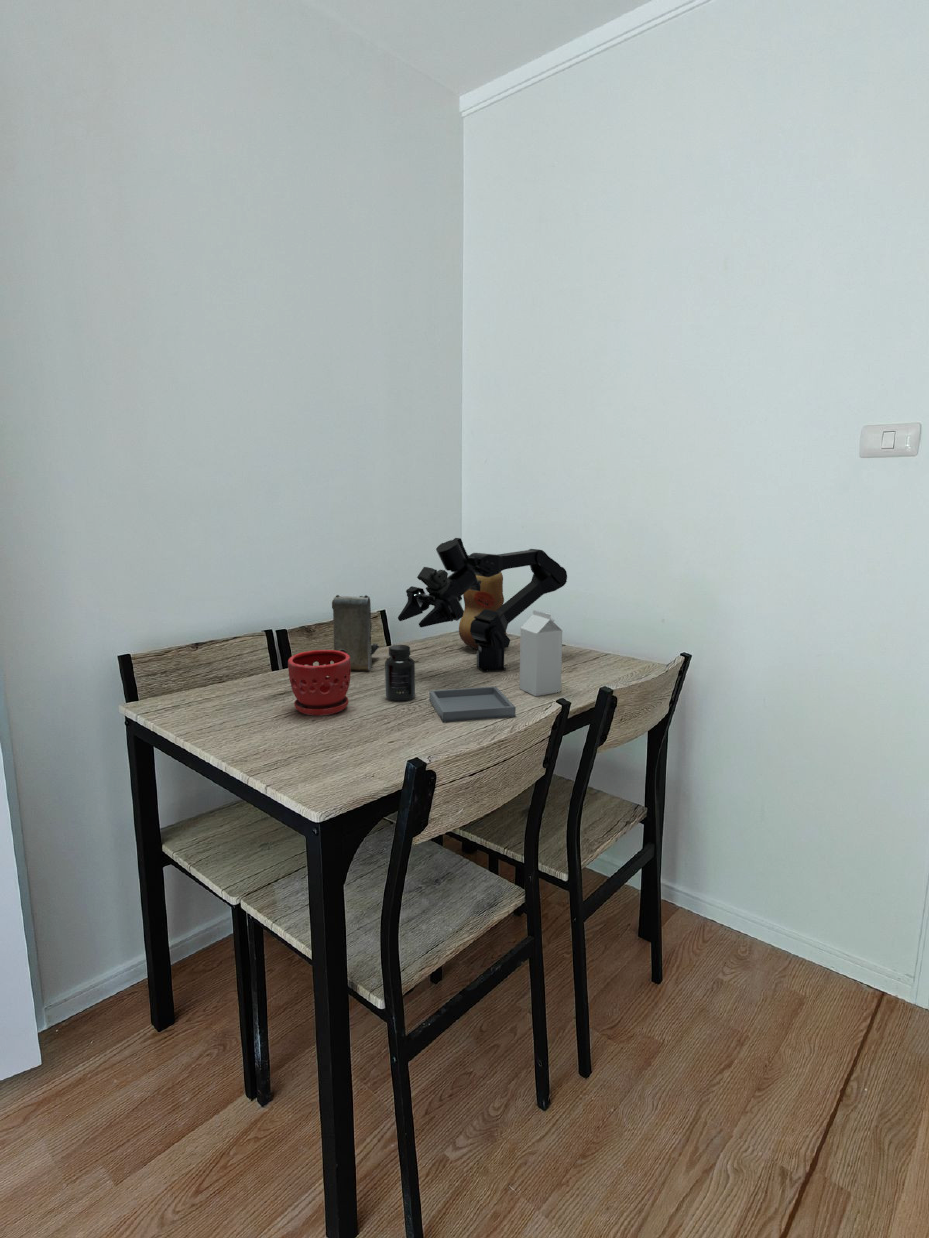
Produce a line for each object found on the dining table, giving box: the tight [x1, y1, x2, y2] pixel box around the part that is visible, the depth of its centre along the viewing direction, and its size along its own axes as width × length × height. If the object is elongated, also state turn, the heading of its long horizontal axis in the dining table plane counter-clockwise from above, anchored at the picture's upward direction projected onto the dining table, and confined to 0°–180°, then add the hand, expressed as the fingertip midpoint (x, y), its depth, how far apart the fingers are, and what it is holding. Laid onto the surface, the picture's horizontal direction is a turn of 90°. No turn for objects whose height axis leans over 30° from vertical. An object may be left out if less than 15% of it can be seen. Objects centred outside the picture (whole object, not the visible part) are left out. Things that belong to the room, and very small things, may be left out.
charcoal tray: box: [428, 685, 517, 723], centre depth 157 cm, size 16×16×2 cm
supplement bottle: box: [384, 644, 416, 703], centre depth 164 cm, size 7×7×12 cm
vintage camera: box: [331, 594, 380, 672], centre depth 192 cm, size 10×15×20 cm, turn 174°
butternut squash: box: [458, 571, 508, 651], centre depth 208 cm, size 14×13×25 cm
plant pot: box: [287, 649, 352, 717], centre depth 155 cm, size 13×13×12 cm
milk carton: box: [519, 609, 563, 697], centre depth 168 cm, size 7×7×19 cm
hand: (408, 622), depth 172 cm, fingers open, 9 cm apart
